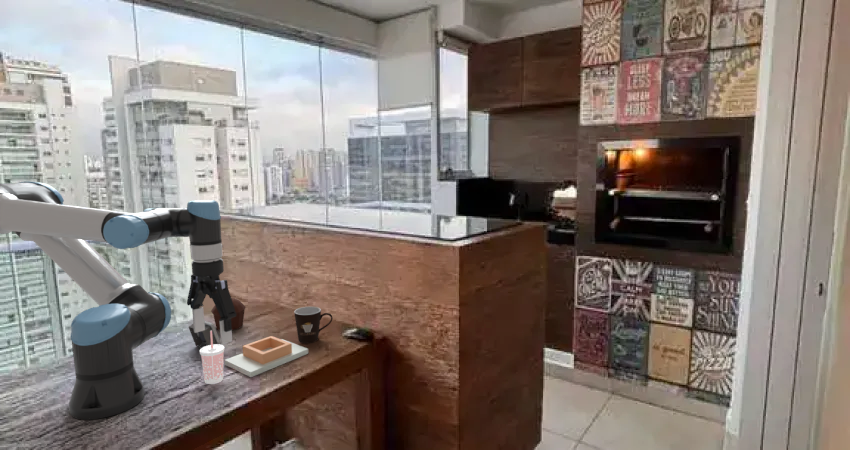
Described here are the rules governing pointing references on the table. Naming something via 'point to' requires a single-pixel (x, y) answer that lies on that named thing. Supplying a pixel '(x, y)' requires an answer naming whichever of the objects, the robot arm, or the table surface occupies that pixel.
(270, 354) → the cup holder
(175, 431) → the table surface
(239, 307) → the muffin
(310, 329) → the coffee mug
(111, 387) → the robot arm
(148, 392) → the table surface
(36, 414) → the table surface
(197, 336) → the electrical switch
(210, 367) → the beverage cup
